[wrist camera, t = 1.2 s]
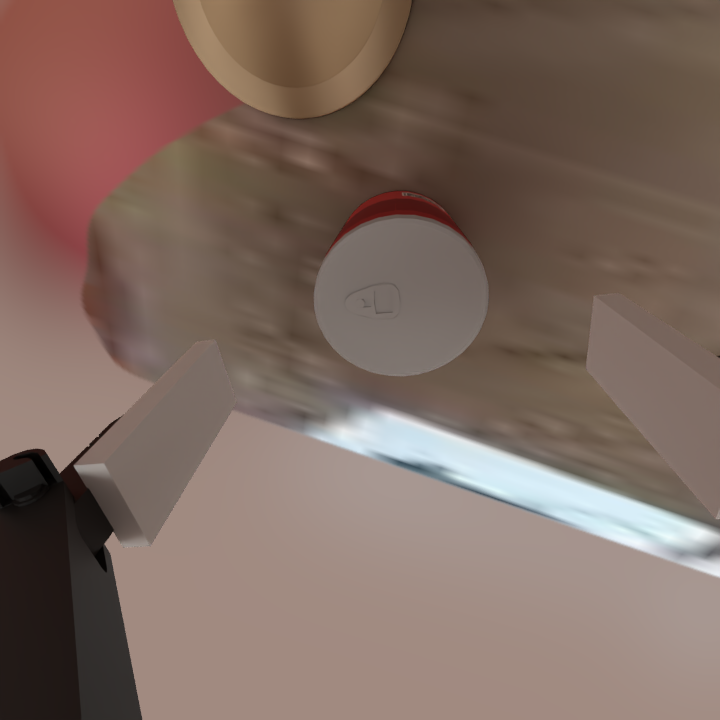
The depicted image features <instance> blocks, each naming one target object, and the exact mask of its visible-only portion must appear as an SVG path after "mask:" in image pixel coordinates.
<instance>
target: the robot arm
mask: <svg viewBox="0 0 720 720" xmlns="http://www.w3.org/2000/svg"><path fill="white" fill-rule="evenodd" d="M586 370H587V371H588V372H589V373H590V375H591V376H592V377H593V378H594V379H595V380H596V382H597V383H598V384H599V385H600V386H601V387H602V388H603V390H604V391H605V392H606V393H607V394H608V395H609V397H610V398H611V399H612V400H613V401H614V402H615V403H616V405H617V406H618V407H619V408H620V409H621V410H622V412H623V413H624V414H625V415H626V416H627V417H628V418H629V420H630V421H631V422H632V423H633V424H634V425H635V427H636V428H637V429H638V430H639V431H640V432H641V434H642V435H643V436H644V437H645V438H646V439H647V440H648V442H649V443H650V444H651V445H652V446H653V447H654V449H655V450H656V451H657V452H658V453H659V454H660V455H661V457H662V458H663V459H664V460H665V461H666V462H667V464H668V465H669V466H670V467H671V468H672V469H673V470H674V472H675V473H676V474H677V475H678V476H679V477H680V479H681V480H682V481H683V482H684V483H685V484H686V486H687V487H688V488H689V489H690V490H691V491H692V492H693V494H694V495H695V496H696V497H697V498H698V499H699V501H700V502H701V503H702V504H703V505H704V506H705V507H706V509H707V510H708V511H709V512H710V513H711V514H712V516H713V517H714V518H715V519H720V356H716V355H714V354H712V353H711V352H709V351H708V350H706V349H705V348H703V347H702V346H700V345H699V344H697V343H696V342H694V341H692V340H691V339H689V338H688V337H686V336H685V335H683V334H682V333H680V332H679V331H677V330H676V329H674V328H673V327H671V326H669V325H668V324H666V323H665V322H663V321H662V320H660V319H659V318H657V317H656V316H654V315H653V314H651V313H649V312H648V311H646V310H645V309H643V308H642V307H640V306H639V305H637V304H636V303H634V302H633V301H631V300H629V299H628V298H626V297H625V296H623V295H622V294H620V293H612V294H604V295H595V296H594V300H593V309H592V318H591V327H590V336H589V345H588V354H587V363H586ZM236 403H237V400H236V398H235V395H234V392H233V389H232V386H231V383H230V380H229V377H228V374H227V371H226V368H225V365H224V362H223V360H222V357H221V354H220V351H219V348H218V345H217V342H216V339H215V340H207V341H198V342H195V343H194V344H193V345H192V346H191V347H190V348H189V349H188V350H187V351H186V352H185V353H184V354H183V355H182V356H181V357H180V358H179V360H178V361H177V362H176V363H175V364H174V365H173V366H172V367H171V368H170V369H169V370H168V371H167V372H166V373H165V374H164V375H163V376H162V377H161V378H160V379H159V380H158V381H157V382H156V383H155V384H154V385H153V386H152V387H151V388H150V389H149V390H148V391H147V392H146V393H145V394H144V395H143V396H142V397H141V398H140V399H139V400H138V401H137V402H136V403H135V404H134V405H133V406H132V407H131V408H130V409H129V410H128V411H127V412H126V413H125V414H124V415H123V416H121V417H119V418H118V419H116V420H115V421H113V422H112V423H111V424H109V425H108V426H107V427H106V428H105V429H104V430H103V431H102V432H101V433H100V434H99V437H96V438H95V439H94V440H93V441H92V442H91V443H90V446H89V447H86V448H85V449H84V450H83V451H82V452H81V453H80V454H79V455H78V456H77V457H76V458H75V459H74V460H73V461H72V462H71V463H70V464H69V465H68V466H67V467H66V468H65V469H64V470H63V471H62V472H61V473H60V474H59V472H58V471H57V469H56V468H55V466H54V465H53V463H52V461H51V460H50V458H49V457H48V455H47V454H46V452H45V451H44V450H42V449H31V450H26V451H23V452H20V453H17V454H14V455H12V456H10V457H8V458H6V459H3V460H1V461H0V720H142V716H141V711H140V705H139V700H138V695H137V690H136V685H135V679H134V674H133V669H132V664H131V659H130V654H129V648H128V643H127V638H126V633H125V628H124V623H123V618H122V613H121V607H120V602H119V597H118V591H117V587H116V581H115V576H114V571H113V565H112V560H111V555H110V553H109V551H108V549H107V548H106V546H105V545H104V543H105V542H106V540H107V539H108V538H109V536H110V535H111V534H112V532H114V533H115V535H116V536H117V538H118V540H119V541H120V543H121V545H122V546H123V547H139V546H140V547H142V546H151V544H152V543H153V541H154V539H155V538H156V536H157V534H158V533H159V531H160V529H161V528H162V526H163V524H164V523H165V521H166V519H167V517H168V516H169V514H170V513H171V511H172V509H173V508H174V506H175V504H176V503H177V501H178V499H179V498H180V496H181V494H182V493H183V491H184V489H185V488H186V486H187V484H188V483H189V481H190V479H191V478H192V476H193V474H194V473H195V471H196V469H197V468H198V466H199V464H200V463H201V461H202V459H203V458H204V456H205V454H206V453H207V451H208V449H209V448H210V446H211V444H212V443H213V441H214V439H215V438H216V436H217V434H218V433H219V431H220V429H221V428H222V426H223V424H224V423H225V421H226V419H227V418H228V416H229V415H230V413H231V411H232V410H233V408H234V406H235V405H236Z"/></svg>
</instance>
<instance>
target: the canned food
mask: <svg viewBox="0 0 720 720" xmlns="http://www.w3.org/2000/svg"><path fill="white" fill-rule="evenodd" d="M488 302H489V292H488V282H487V278H486V274H485V270H484V267H483V264H482V262H481V260H480V258H479V256H478V255H477V253H476V251H475V249H474V248H473V246H472V244H471V243H470V242H469V240H468V239H467V238H466V237H465V235H464V234H463V233H462V231H461V230H460V229H459V228H458V226H457V225H456V224H455V222H454V221H453V220H452V219H451V217H450V216H449V215H448V214H447V213H446V211H445V210H444V209H443V208H442V207H441V206H440V205H439V204H437V203H436V202H435V201H433V200H432V199H430V198H428V197H426V196H423V195H421V194H418V193H413V192H409V191H393V192H388V193H383V194H380V195H378V196H375V197H373V198H371V199H369V200H368V201H366V202H364V203H363V204H361V205H360V206H359V207H358V208H357V209H356V210H355V211H354V212H353V213H352V215H351V216H350V217H349V219H348V220H347V222H346V223H345V225H344V227H343V228H342V230H341V231H340V233H339V234H338V236H337V238H336V239H335V241H334V242H333V244H332V246H331V247H330V249H329V250H328V252H327V254H326V256H325V258H324V260H323V262H322V264H321V267H320V269H319V272H318V274H317V279H316V284H315V290H314V310H315V314H316V318H317V322H318V325H319V327H320V329H321V331H322V333H323V335H324V337H325V338H326V340H327V341H328V342H329V344H330V345H331V346H332V348H333V349H334V350H335V351H336V352H338V353H339V354H340V355H341V356H342V357H343V358H344V359H346V360H347V361H349V362H351V363H352V364H354V365H356V366H357V367H360V368H362V369H365V370H367V371H370V372H372V373H377V374H382V375H387V376H409V375H418V374H422V373H425V372H429V371H432V370H435V369H437V368H439V367H441V366H443V365H445V364H447V363H449V362H450V361H452V360H453V359H455V358H456V357H457V356H459V355H460V354H461V353H462V352H463V351H464V350H465V349H466V348H467V347H468V346H469V345H470V344H471V343H472V342H473V340H474V339H475V337H476V336H477V334H478V333H479V331H480V329H481V327H482V324H483V322H484V319H485V317H486V313H487V308H488Z"/></svg>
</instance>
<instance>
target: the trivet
mask: <svg viewBox="0 0 720 720" xmlns="http://www.w3.org/2000/svg"><path fill="white" fill-rule="evenodd" d="M173 3H174V6H175V9H176V12H177V15H178V18H179V20H180V23H181V25H182V27H183V29H184V32H185V34H186V36H187V38H188V40H189V42H190V43H191V46H192V47H193V49H194V51H195V53H196V54H197V56H198V57H199V59H200V60H201V61H202V63H203V64H204V66H205V67H206V68H207V70H208V71H209V72H210V73H211V74H212V75H213V76H214V78H215V79H216V80H217V81H218V82H219V83H220V84H221V85H222V86H223V87H225V88H226V89H227V90H228V91H229V92H230V93H231V94H233V95H234V96H236V97H237V98H238V99H240V100H241V101H243V102H244V103H246V104H248V105H250V106H252V107H254V108H256V109H257V110H260V111H263V112H266V113H269V114H271V115H276V116H281V117H286V118H296V119H306V118H315V117H320V116H324V115H327V114H331V113H333V112H335V111H338V110H340V109H342V108H344V107H346V106H347V105H349V104H351V103H352V102H354V101H355V100H357V99H358V98H359V97H360V96H361V95H363V94H364V93H365V92H366V91H367V90H368V89H369V88H370V87H371V86H372V85H373V84H374V83H375V82H376V81H377V80H378V78H379V77H380V76H381V74H382V73H383V71H384V70H385V69H386V67H387V66H388V64H389V63H390V61H391V59H392V57H393V55H394V53H395V52H396V50H397V48H398V45H399V43H400V40H401V38H402V35H403V33H404V30H405V27H406V23H407V20H408V17H409V13H410V8H411V3H412V0H173Z"/></svg>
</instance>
